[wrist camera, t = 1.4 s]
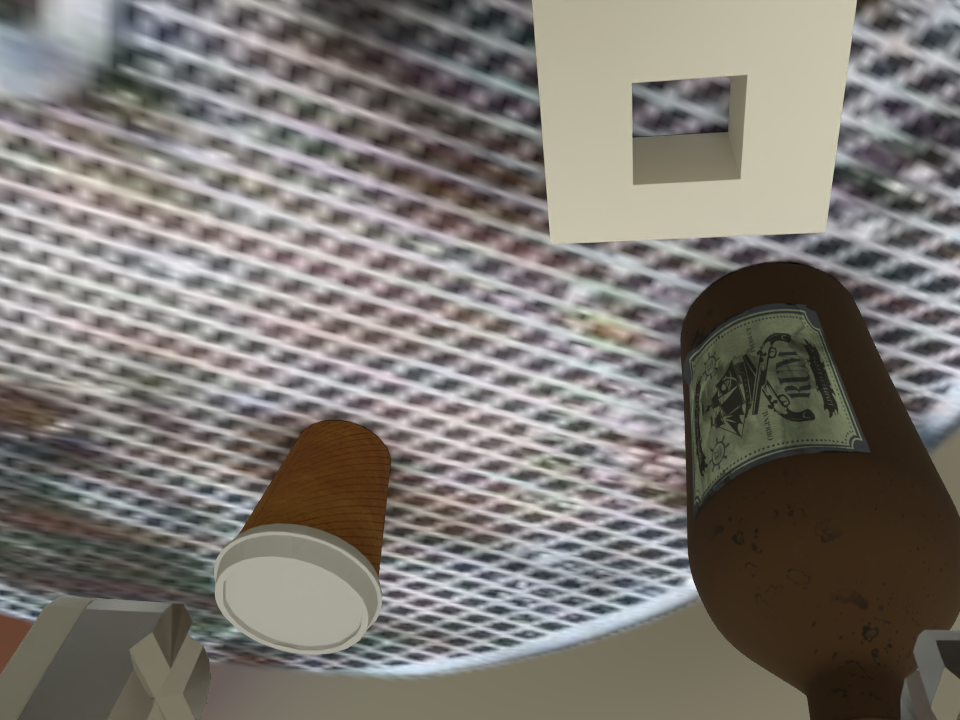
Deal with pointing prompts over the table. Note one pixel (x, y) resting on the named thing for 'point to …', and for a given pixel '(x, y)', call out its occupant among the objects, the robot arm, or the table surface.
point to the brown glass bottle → (811, 493)
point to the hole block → (690, 157)
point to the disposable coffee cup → (311, 545)
